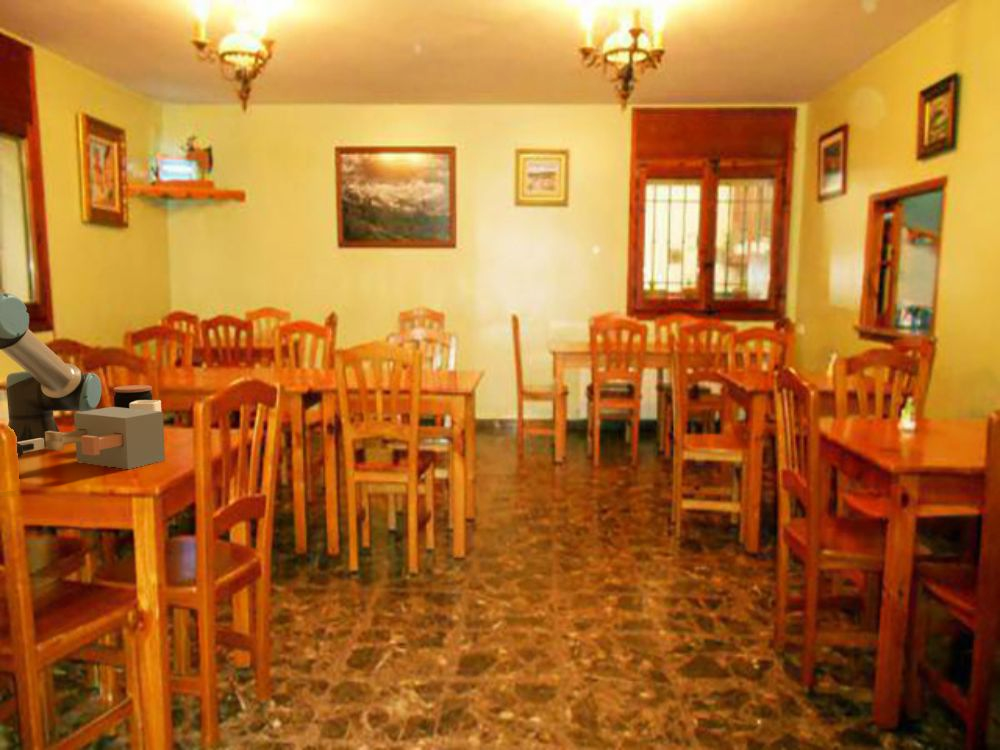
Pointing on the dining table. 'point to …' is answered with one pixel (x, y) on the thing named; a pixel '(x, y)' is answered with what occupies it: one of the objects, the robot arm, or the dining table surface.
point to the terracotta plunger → (100, 443)
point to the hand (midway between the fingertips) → (42, 443)
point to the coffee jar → (131, 394)
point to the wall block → (138, 436)
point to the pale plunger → (63, 438)
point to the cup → (146, 405)
